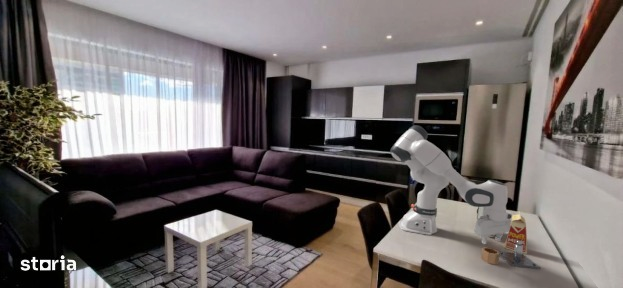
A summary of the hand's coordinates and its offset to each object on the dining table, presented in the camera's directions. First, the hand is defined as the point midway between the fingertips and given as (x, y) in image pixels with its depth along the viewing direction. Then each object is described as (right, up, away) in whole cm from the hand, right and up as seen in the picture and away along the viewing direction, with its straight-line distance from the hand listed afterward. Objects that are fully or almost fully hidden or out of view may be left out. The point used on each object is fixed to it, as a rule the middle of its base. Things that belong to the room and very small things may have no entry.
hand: (491, 242), depth 120 cm
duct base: (+14, -10, +2) cm, 18 cm away
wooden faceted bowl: (0, -10, +1) cm, 10 cm away
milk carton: (+23, -9, +14) cm, 29 cm away
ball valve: (+21, -8, +31) cm, 38 cm away
